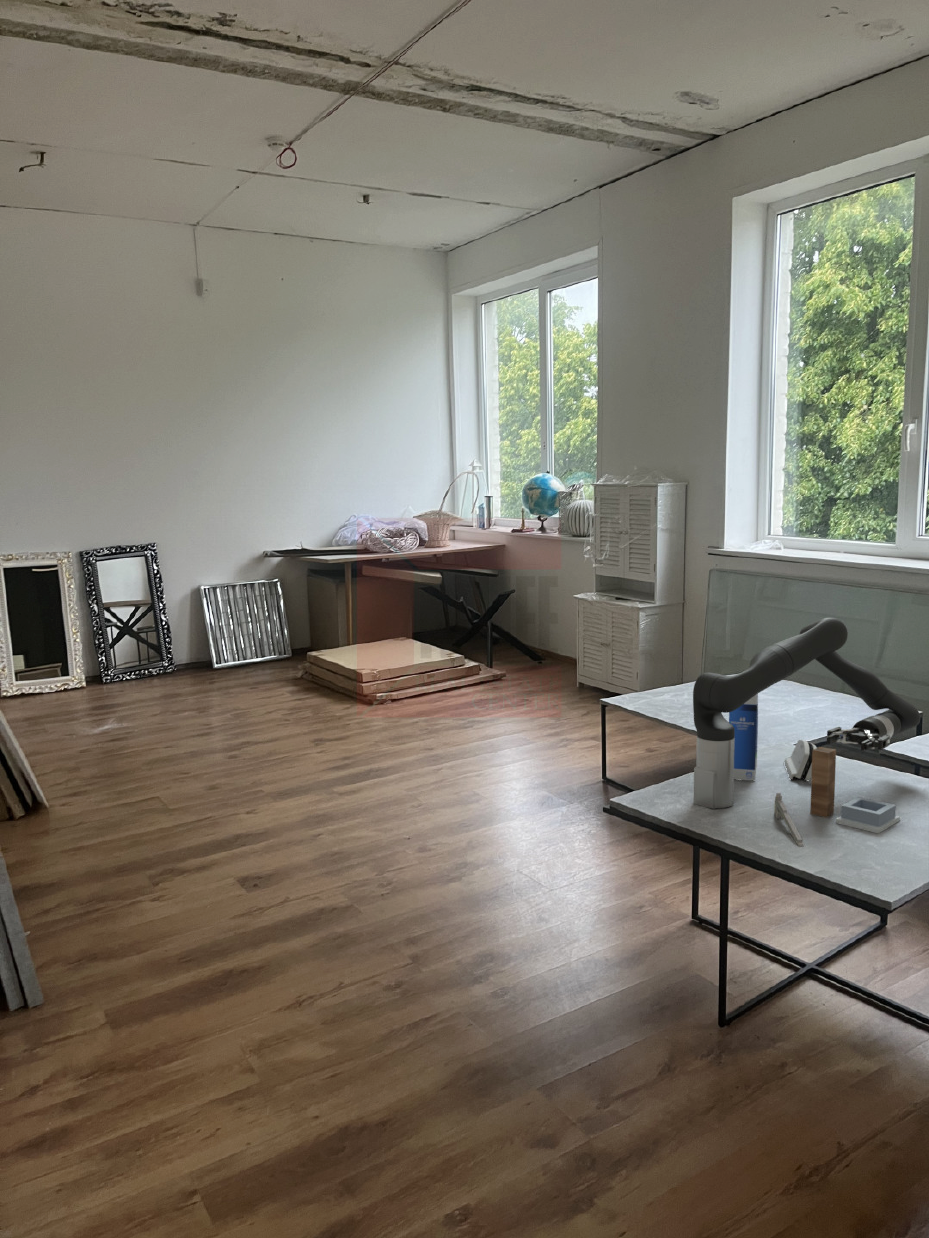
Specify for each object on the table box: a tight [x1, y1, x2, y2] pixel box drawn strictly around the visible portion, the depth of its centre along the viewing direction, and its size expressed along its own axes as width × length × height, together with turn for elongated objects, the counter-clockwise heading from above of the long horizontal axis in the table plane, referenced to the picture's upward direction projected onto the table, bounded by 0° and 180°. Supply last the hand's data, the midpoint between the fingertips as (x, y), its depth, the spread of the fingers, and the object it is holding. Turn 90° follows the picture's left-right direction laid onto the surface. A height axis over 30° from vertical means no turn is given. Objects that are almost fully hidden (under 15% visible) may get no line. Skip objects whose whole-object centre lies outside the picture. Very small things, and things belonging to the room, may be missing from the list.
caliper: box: [773, 792, 805, 847], centre depth 210 cm, size 20×1×6 cm, turn 176°
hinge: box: [783, 739, 818, 781], centre depth 254 cm, size 17×5×10 cm, turn 167°
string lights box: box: [728, 693, 759, 781], centre depth 253 cm, size 13×8×26 cm, turn 161°
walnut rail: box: [810, 746, 837, 818], centre depth 220 cm, size 4×4×16 cm
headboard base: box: [835, 796, 901, 834], centre depth 215 cm, size 12×10×4 cm
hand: (845, 743), depth 227 cm, fingers open, 8 cm apart
